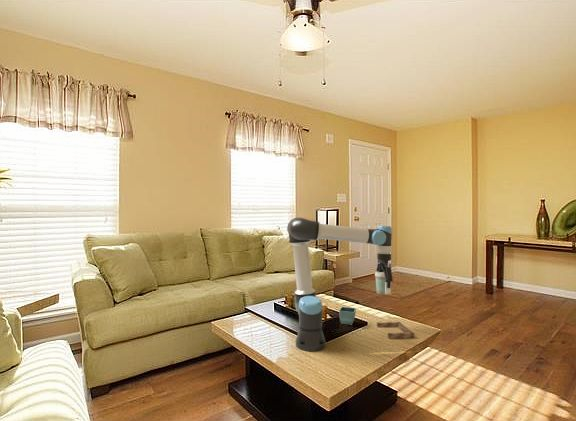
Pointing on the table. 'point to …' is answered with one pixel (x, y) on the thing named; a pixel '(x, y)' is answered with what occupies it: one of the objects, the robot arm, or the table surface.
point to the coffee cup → (380, 282)
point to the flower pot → (347, 315)
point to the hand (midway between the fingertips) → (383, 290)
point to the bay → (405, 334)
